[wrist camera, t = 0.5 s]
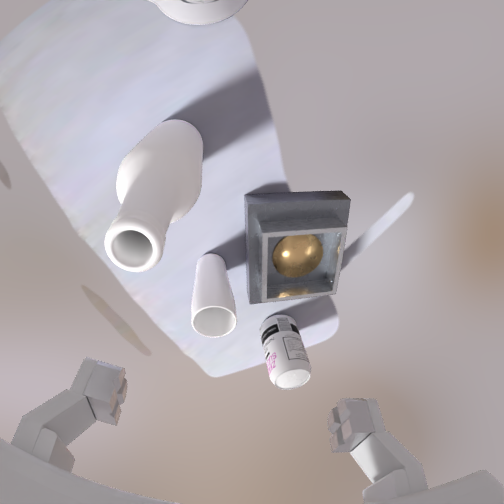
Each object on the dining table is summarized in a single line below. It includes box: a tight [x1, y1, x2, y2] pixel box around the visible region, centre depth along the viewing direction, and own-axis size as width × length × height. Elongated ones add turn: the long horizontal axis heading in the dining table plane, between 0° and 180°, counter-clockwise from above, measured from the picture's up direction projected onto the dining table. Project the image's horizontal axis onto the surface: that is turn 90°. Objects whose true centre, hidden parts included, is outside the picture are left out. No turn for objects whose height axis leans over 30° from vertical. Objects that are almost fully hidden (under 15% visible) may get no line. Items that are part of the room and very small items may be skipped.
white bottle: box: [105, 119, 203, 272], centre depth 31 cm, size 9×9×30 cm
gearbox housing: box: [245, 191, 351, 304], centre depth 53 cm, size 20×17×8 cm
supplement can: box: [260, 314, 311, 390], centre depth 61 cm, size 8×8×15 cm
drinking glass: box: [191, 254, 237, 337], centre depth 49 cm, size 7×7×15 cm
